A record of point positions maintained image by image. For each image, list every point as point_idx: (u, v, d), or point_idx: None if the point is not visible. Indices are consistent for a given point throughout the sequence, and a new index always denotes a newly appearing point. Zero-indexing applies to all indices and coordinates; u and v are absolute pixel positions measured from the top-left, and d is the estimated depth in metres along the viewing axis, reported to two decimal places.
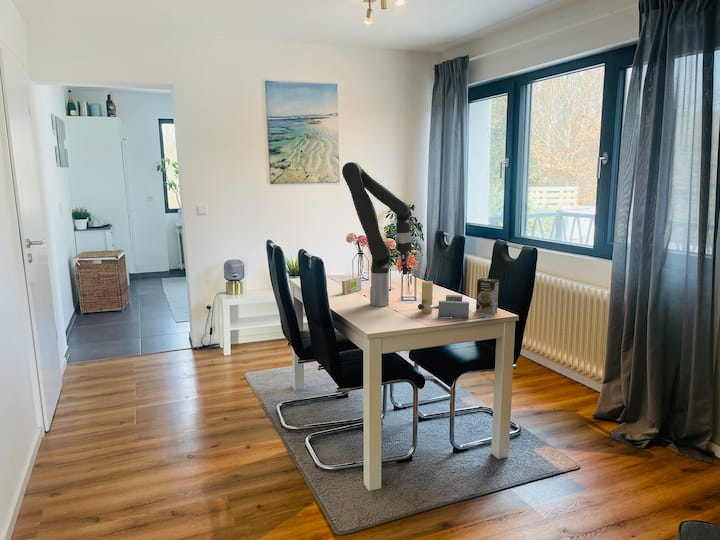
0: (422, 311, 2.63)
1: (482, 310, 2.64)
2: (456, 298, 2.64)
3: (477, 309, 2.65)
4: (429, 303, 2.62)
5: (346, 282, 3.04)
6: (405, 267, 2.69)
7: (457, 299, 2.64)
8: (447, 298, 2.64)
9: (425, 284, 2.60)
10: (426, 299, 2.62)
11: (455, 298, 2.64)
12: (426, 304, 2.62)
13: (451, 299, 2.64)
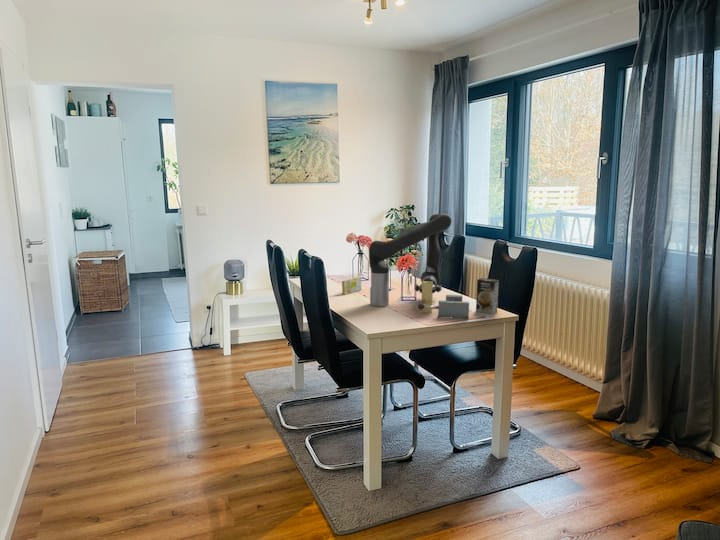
0: (422, 311, 2.63)
1: (482, 310, 2.64)
2: (456, 298, 2.64)
3: (477, 309, 2.65)
4: (429, 303, 2.62)
5: (346, 282, 3.04)
6: None
7: (457, 299, 2.64)
8: (447, 298, 2.64)
9: (425, 284, 2.60)
10: (426, 299, 2.62)
11: (455, 298, 2.64)
12: (426, 304, 2.62)
13: (451, 299, 2.64)
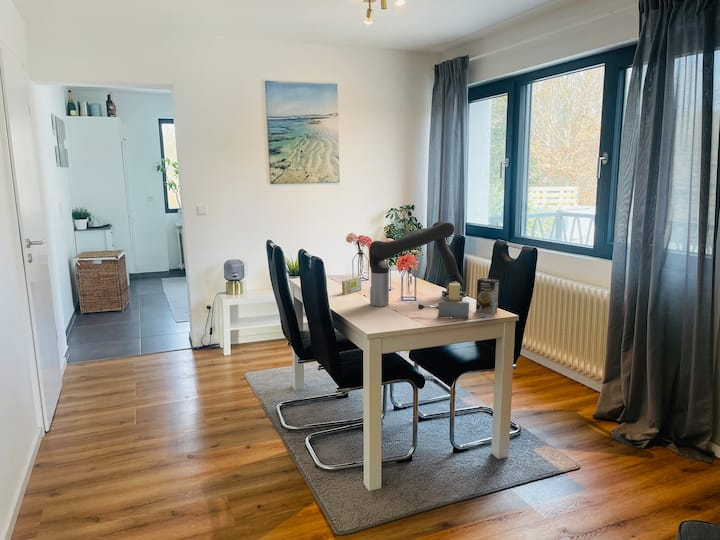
0: None
1: (482, 310, 2.64)
2: None
3: (477, 309, 2.65)
4: None
5: (346, 282, 3.04)
6: None
7: None
8: (447, 298, 2.64)
9: (452, 286, 2.55)
10: None
11: None
12: None
13: None
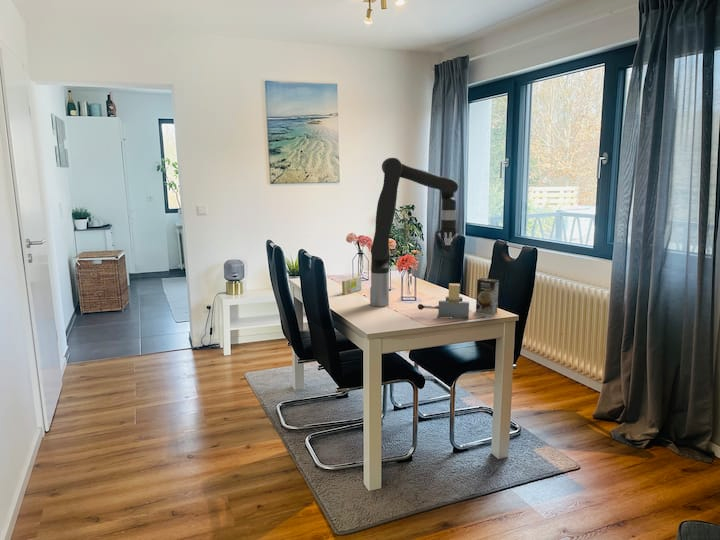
0: None
1: (482, 310, 2.64)
2: None
3: (477, 309, 2.65)
4: None
5: (346, 282, 3.04)
6: (450, 245, 2.79)
7: None
8: (447, 300, 2.61)
9: (452, 287, 2.54)
10: None
11: None
12: None
13: None
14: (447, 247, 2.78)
